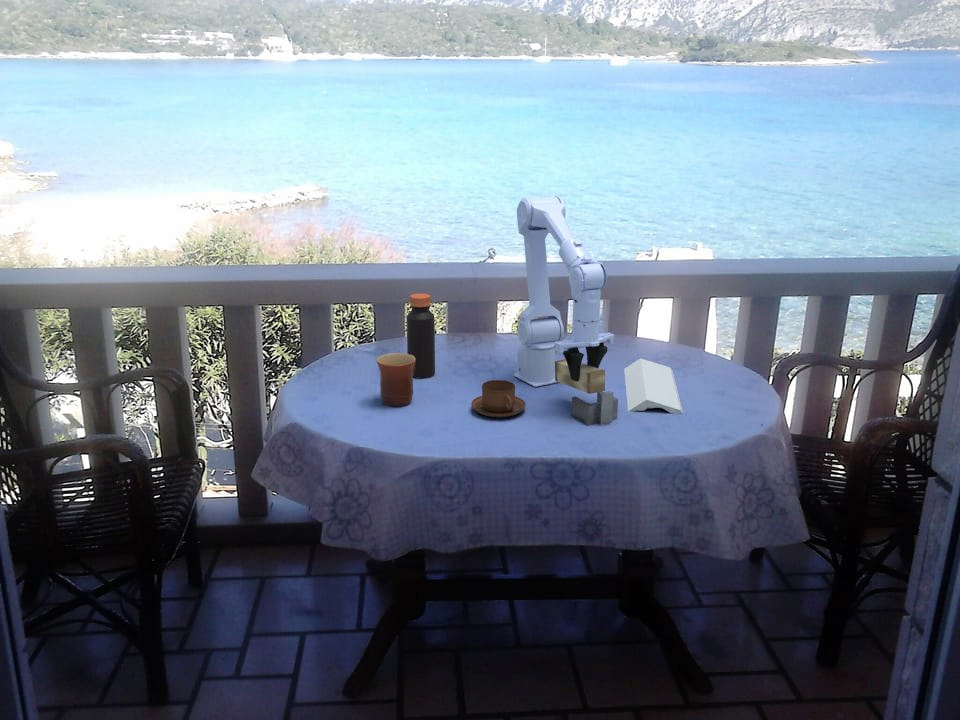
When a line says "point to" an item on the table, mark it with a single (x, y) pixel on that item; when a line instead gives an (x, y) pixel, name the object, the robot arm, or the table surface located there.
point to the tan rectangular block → (581, 377)
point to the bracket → (595, 409)
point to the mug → (396, 378)
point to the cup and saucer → (498, 399)
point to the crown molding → (651, 387)
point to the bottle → (421, 335)
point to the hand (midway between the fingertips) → (583, 378)
